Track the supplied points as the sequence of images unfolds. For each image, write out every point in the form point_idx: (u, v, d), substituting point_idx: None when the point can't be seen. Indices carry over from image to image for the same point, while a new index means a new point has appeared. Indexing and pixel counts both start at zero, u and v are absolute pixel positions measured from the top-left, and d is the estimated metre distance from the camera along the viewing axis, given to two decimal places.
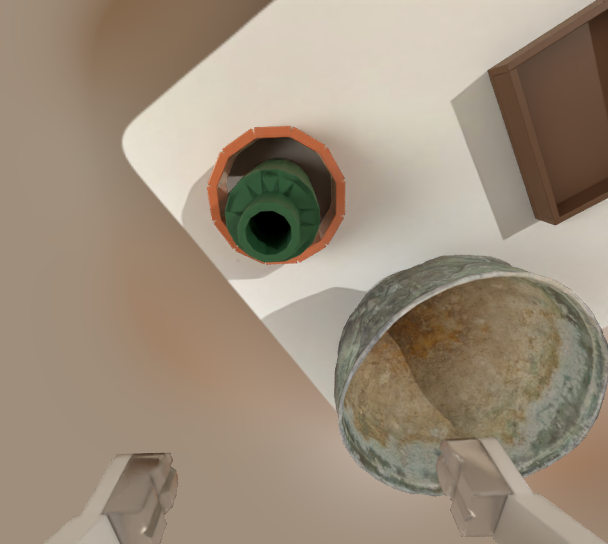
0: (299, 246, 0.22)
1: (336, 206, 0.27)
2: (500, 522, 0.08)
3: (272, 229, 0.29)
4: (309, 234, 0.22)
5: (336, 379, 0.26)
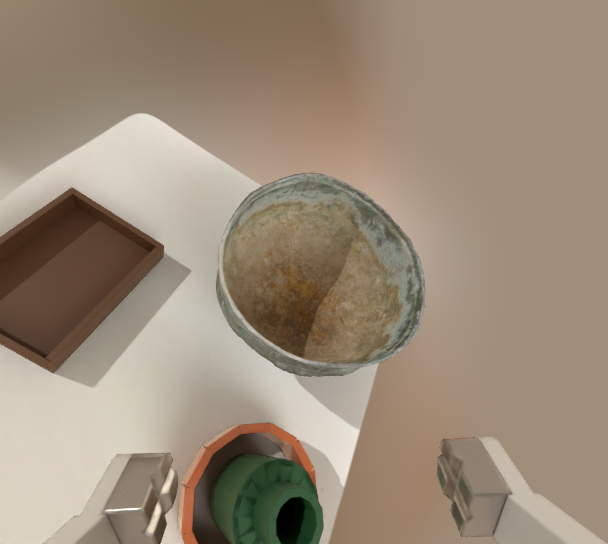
0: (288, 468, 0.23)
1: (233, 438, 0.28)
2: (500, 522, 0.08)
3: None
4: (274, 466, 0.23)
5: None
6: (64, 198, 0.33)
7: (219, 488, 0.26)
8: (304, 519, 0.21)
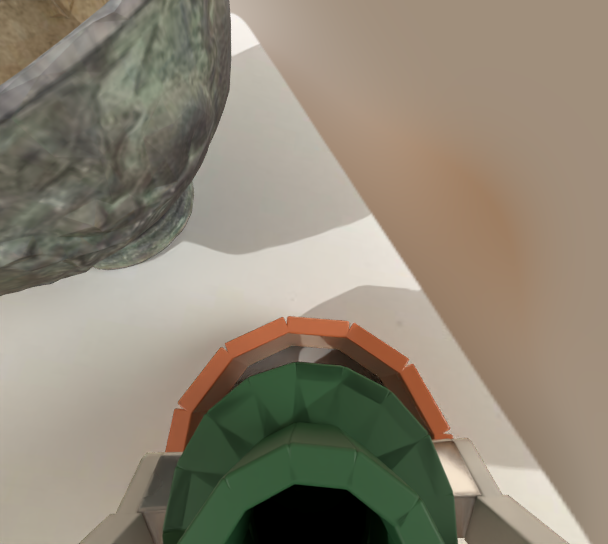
0: (246, 405, 0.08)
1: (187, 430, 0.13)
2: (471, 523, 0.08)
3: None
4: (211, 440, 0.07)
5: (214, 46, 0.11)
6: None
7: None
8: None
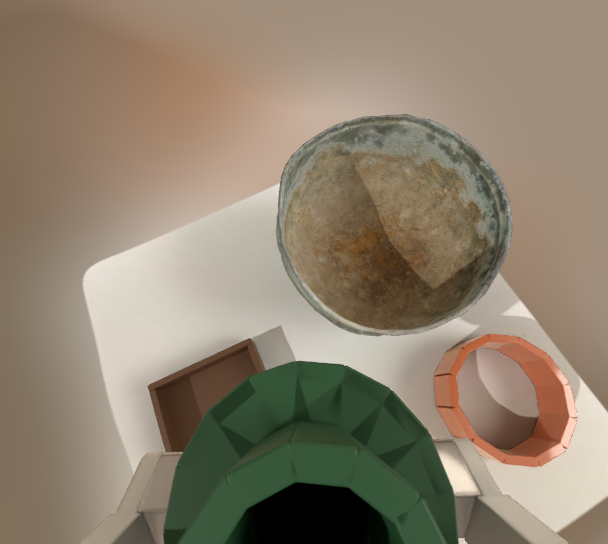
0: (247, 404, 0.08)
1: (456, 383, 0.30)
2: (471, 524, 0.08)
3: None
4: (211, 439, 0.07)
5: None
6: (156, 398, 0.31)
7: None
8: None
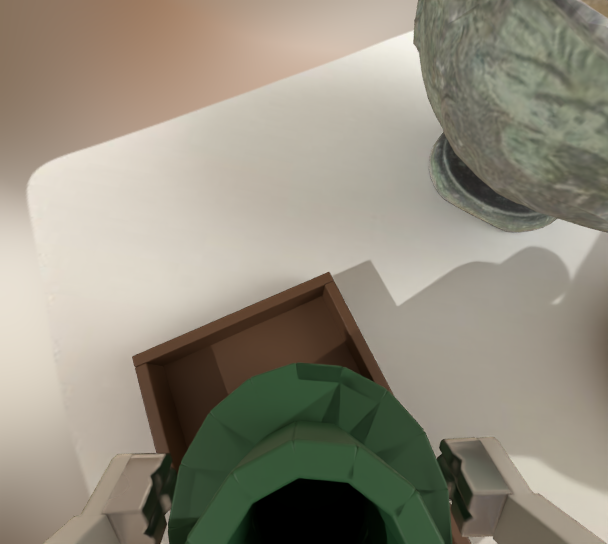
0: (248, 404, 0.08)
1: None
2: (500, 522, 0.08)
3: None
4: (214, 438, 0.08)
5: None
6: (149, 381, 0.16)
7: None
8: None
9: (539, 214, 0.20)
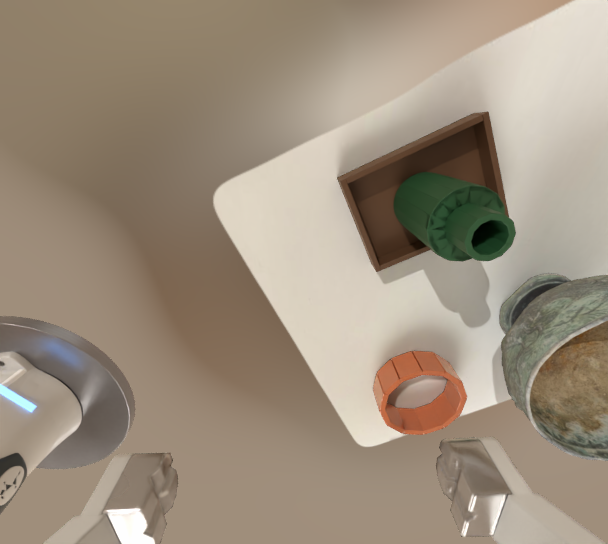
0: (497, 206, 0.25)
1: (437, 375, 0.41)
2: (500, 522, 0.08)
3: None
4: (489, 196, 0.25)
5: None
6: (473, 124, 0.30)
7: (421, 182, 0.31)
8: (484, 242, 0.25)
9: (509, 320, 0.41)
